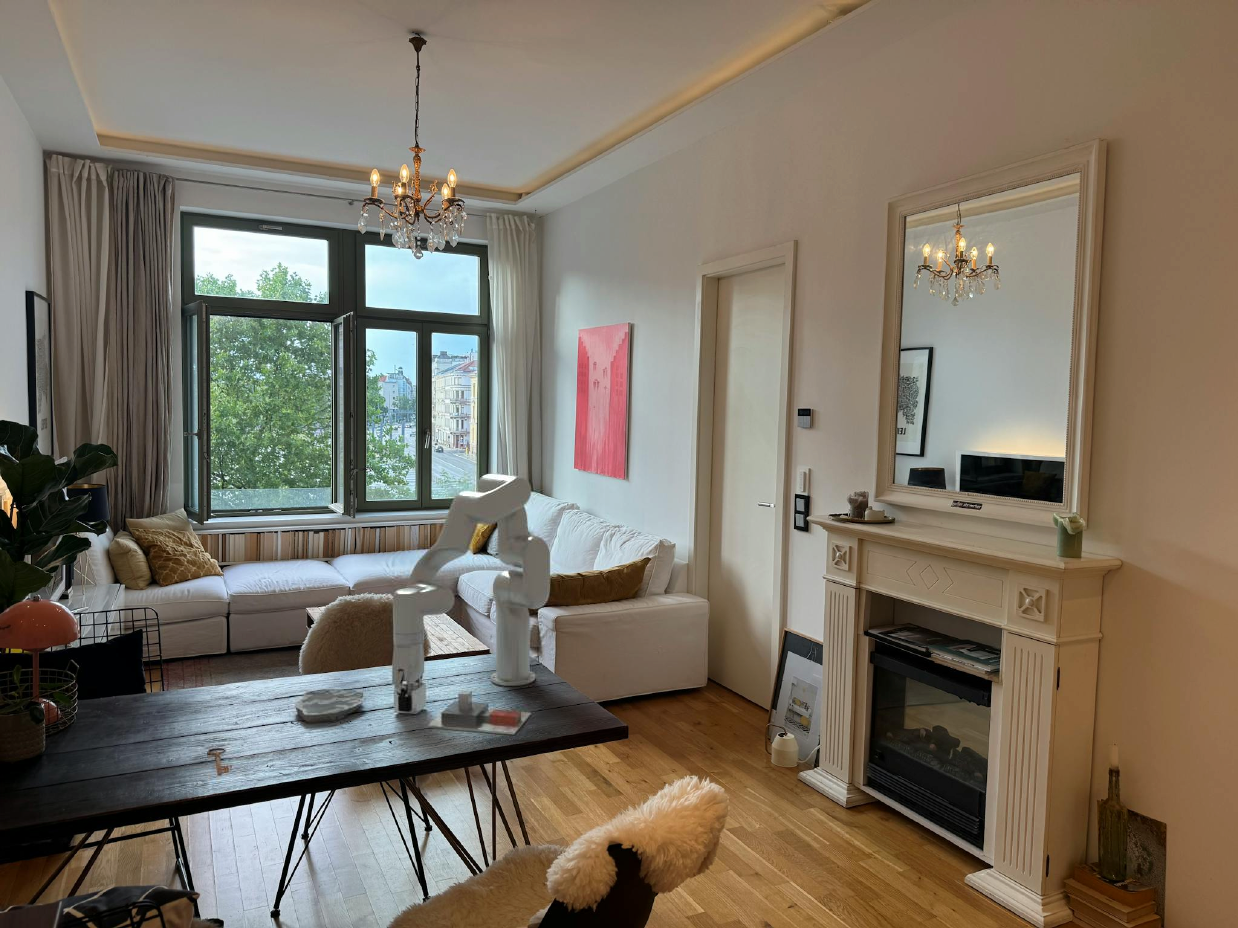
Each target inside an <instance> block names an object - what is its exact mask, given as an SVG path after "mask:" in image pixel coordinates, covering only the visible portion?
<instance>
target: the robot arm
mask: <svg viewBox="0 0 1238 928" xmlns="http://www.w3.org/2000/svg"><path fill="white" fill-rule="evenodd" d="M477 490H478V491H474V490H465V491H461V492H459V493H457V494H456V495H455V496H454V498H453V500H452V502H451V504H450V508H449V509H448V513H447V515H446V518H445V520H444V522H443V525H442V528H441V531H440V533H439V536H438V538H437V540H436V541H435V543H434V544H433V545H432V546H431V547H429V549H428V550H427V551H426V552H425V553H424V554H423V555H422V556H421V558H419V560H418V561H417V562H416V564H415V565H414V567H413V569H412V571H411V573H410V576H409V578H408V582H407V584H406V587H405V588H401V589H397V590H396V591H394V592H393V595H392V623H393V626H392V629H393V631H392V632H393V652H392V653H393V654H392V661H391V662H392V663H391V666H392V669H391V682H392V685H393V686H394V687H393V688H394V689H395V690H396V692H397V696H398V710H399V711H403V712H410V711H411V696H409V693H410V685H411V684H412V683H414V682H418V683H423V680H422V679H423V675H424V673H425V651H424V643H425V631H424V629H425V628H424V627H425V625H424V617H425V616H435V615H436V616H438V615H439V616H440V615H443V614H445V613H447V612H449V611H451V609H452V608H453V606H454V604H455V595H454V592H453V591H452V590H451V589H450V588H449V587H448V586H444V585H442V584H437V583H434V580H435V578H436V576H437V574H438V573H439V571H441V569H442V568H443V567H444V566H446V565H447V564H449V563H450V562H452V561H455V560H457V559H459V558H461V557H463V556H465V555H466V554H467V553H468V551H469V549H470V547H471V544H472V540H473V538H474V535H475V533H476V531H477V528H478V525H484V526H488V525H492V524H497V556H498V559H499V561H500V562H501V563H502V564H504V565H506V566H510V567H513V568H519V569H522V570H517V569H516V570H515V569H506V570H503V571H501V572H500V573H498V574H497V575H496V577H495V578H494V580H493V584H492V596H493V599H494V605H495V616H496V618H495V619H496V623H495V625H496V629H495V630H496V631H495V632H496V633H495V635H496V636H495V637H496V640H495V642H496V643H495V647H496V649H495V651H496V652H495V654H496V657H495V660H496V664H495V667H496V668H495V669H496V670H495V672H493V673H492V674H491V675H490V681H491V682H492V683H494V684H495V685H499V686H505V687H514V686H515V687H516V686H524V685H529V684H530V683H532V682H534V681H535V679H536V674H535V673H534V672H532V671H531V670H530V669H531V667H530V666H531V664H530V662H531V661H530V660H531V659H530V658H531V655H530V652H531V651H530V648H531V646H530V643H531V640H530V638H531V637H530V636H531V634H530V633H531V632H530V631H531V628H530V626H531V618H530V612H529V609H532V610H535V609H536V610H537V609H540V608H542V607H543V606H545V604H546V603H547V602H548V601H549V597H550V591H551V552H550V548H549V546H548V543H547V542H546V540H544V539H543V538H542V537H540V536H538V535H533V534H530V533H529V527H528V513H527V509H526V507H525V506H526V504H527V503H528V502H529V500H530V499H531V494H532V487H531V484H530V482H529V481H528V480H527V479H526V478H525V477H522V476H519V475H513V474H503V473H486V474H484V475H482V476H481V477H480V478H479V479H478V482H477ZM403 682H407V683H406V684H402V683H403ZM402 686H406V690H405V689H404V688H402Z"/></svg>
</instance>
